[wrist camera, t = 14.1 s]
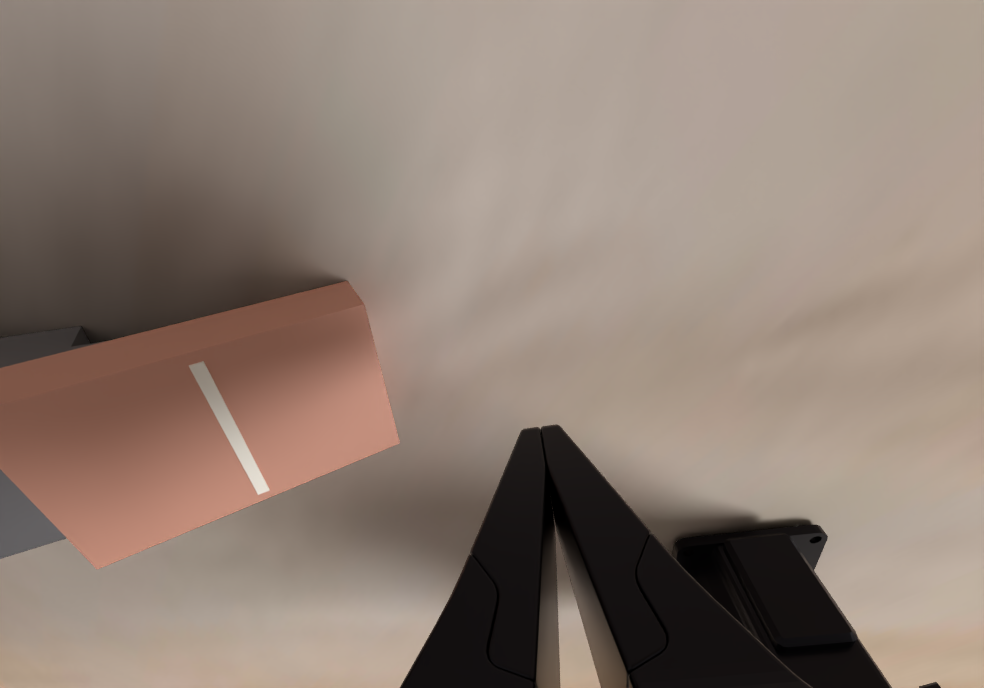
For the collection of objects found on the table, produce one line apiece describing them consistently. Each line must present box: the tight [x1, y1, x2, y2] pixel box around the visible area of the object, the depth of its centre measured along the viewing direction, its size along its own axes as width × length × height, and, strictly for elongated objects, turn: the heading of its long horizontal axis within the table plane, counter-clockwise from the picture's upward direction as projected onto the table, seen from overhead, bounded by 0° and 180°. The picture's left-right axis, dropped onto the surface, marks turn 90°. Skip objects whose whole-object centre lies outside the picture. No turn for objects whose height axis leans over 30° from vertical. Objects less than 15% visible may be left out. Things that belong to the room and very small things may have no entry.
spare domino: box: [0, 281, 400, 569], centre depth 12 cm, size 5×2×8 cm
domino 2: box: [0, 341, 106, 559], centre depth 12 cm, size 5×2×8 cm
